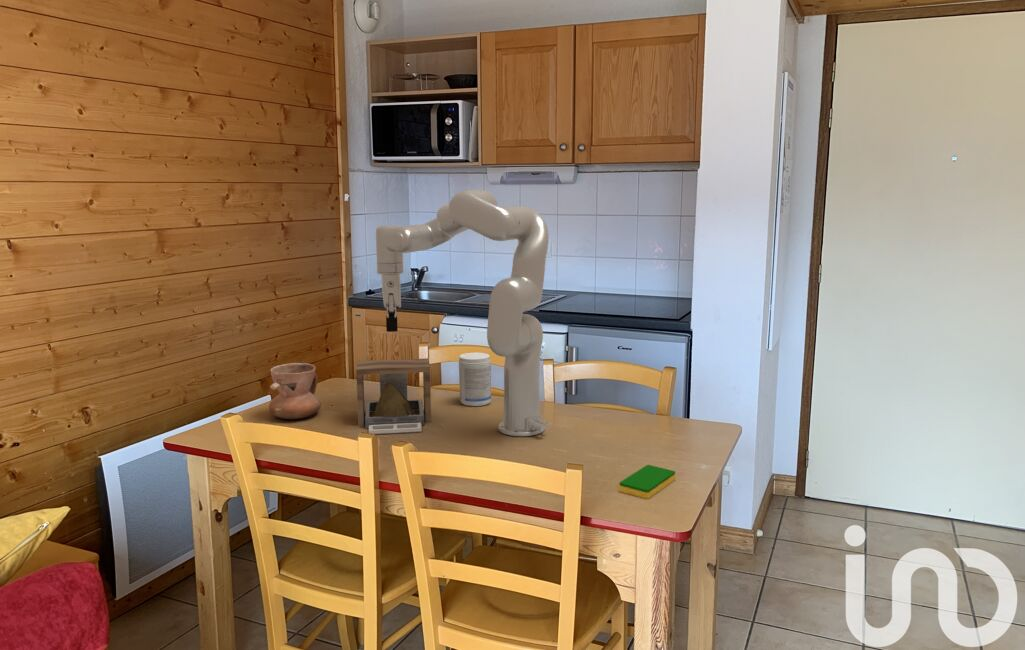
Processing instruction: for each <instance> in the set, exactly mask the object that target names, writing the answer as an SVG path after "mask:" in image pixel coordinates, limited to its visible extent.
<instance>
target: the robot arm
mask: <svg viewBox="0 0 1025 650" xmlns="http://www.w3.org/2000/svg"><path fill="white" fill-rule="evenodd" d="M467 230H471V231H473V232H475V233H476V234H480V235H481V236H483V237H485V238H487V239H489V240H492V241H497V242H506V241H512V240H517V242H518V243H517V246H516V248H515V249H514V250H515V251H514V253H513V258H512V266H511V267H512V268H511V274H510V277H506V278H504V279H501V280H500V281H498V282H497V283H496V284H495V285H494V286H493V289H492V291H491V293H490V298H489V308H488V316H487V328H486V339H487V344H488V347H489V349H490V350H491V352H492V353H494V354H495V355H496V356H498V357H503V358H504V361H503V362H504V363H503V364H504V365H503V420H502V421H501V422H499V423H498V427H497V428H498V431H499V432H501V433H502V434H504V435H508V436H510V437H511V436H512V437H513V436H514V437H530V436H531V437H533V436H536V435H539V434H541V433H543V432H544V431H545V430H546V428H547V427H548V426H549V422H547V421H543V419H542V418H543V416H542V414H540V364H541V363H540V361H541V360H540V359H541V352H542V345H543V339H544V338H543V337H544V332H543V331H544V330H543V326H542V324H541V322H540V321H539V319H537V318H536V317H535V316H533V315H531V314H527V313H525V312H529V311H532V310H533V309H536V308H537V307H538V306H540V304H541V301H542V299H543V290H544V281H545V271H546V260H547V253H548V247H549V231H548V226H547V223H546V221H545V220H544V218H543V216H542V215H541V214H540V213H539V212H538V211H536V210H534V209H533V208H531V207H527V206H522V205H514V206H513V205H512V206H502V207H500V206H498V201H497V199H496V196H494V195H493V194H492V192H489V191H488V190H485V189H469V190H464V189H463V190H460V191H457V193H455V194H454V195H453V196H452V198H451V199H450V201H449V203H447V204H445V205H442V206H440V208H438V209H437V213H436V218H433V219H431V220H430V221H427V222H426V223H425V222H424V223H423V224H412V225H403V226H401V225H400V226H399V225H394V224H393V225H392V224H387V225H385V224H384V225H379V226H377V228H376V229H375V244H376V247H375V249H376V274H378V275H381V290H382V293H381V294H382V300H383V301H382V302H383V308H385V309H386V316H385V322H386V325H385V326H386V332H388V333H389V332H390V333H392V332H398V315H397V307H398V309H400V308H401V307H402V295H401V294H402V290H401V289H402V287H401V284H402V283H401V274H404V254H407V253H408V254H409V253H414V252H415V253H416V252H423V251H428V250H431V249H433V248H435V247H438V246H440V245H443V244H445V243H446V242H449V241H450V240H451V239H453V238H454V237H455V236H457V235H459V234H461V233H463V232H465V231H467Z"/></svg>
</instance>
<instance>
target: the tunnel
mask: <svg viewBox="0 0 1025 650" xmlns="http://www.w3.org/2000/svg"><path fill="white" fill-rule="evenodd" d="M355 371H356V373H355V374H356V377H355V378H356V397H357V399H356V401H357V402H356V403H357V420H358V421H357V422H358V424H357V425H358V427H359V426H360V427H361V426H365V413H366V405H365V387H364V385H365V383H364V375H380V374H391V373H407V374H411V373H417V374H418V373H422V378H423V379H422V382H423V383H422V384H423V385H422V386H423V387H422V388H423V390H422V391H423V411H424V422H425V423H432V408H431V405H432V402H431V401H432V399H431V397H432V396H431V395H432V394H431V365H430V362H429V358H428V357H427V358H405V359H381V360H379V359H376V360H375V359H374V360H373V359H372V360H357V363H356V368H355Z"/></svg>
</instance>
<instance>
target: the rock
mask: <svg viewBox="0 0 1025 650" xmlns="http://www.w3.org/2000/svg"><path fill="white" fill-rule="evenodd" d="M408 400H409V399H408V398H407V399H406V398H405V396H404V395H403V394H402V393H401V392H400V391H399V390H398V389H397V388H396V387H395V386H393V385H392V384H389V383H387V384H386V386H385V388H384V389H383V392H382V394H381V395H380V396H379V399H378V401H379V402H378V404H377V405H376V409H375V411H374V414H373V417H380V416H401V415H415V413H414V409H412V408H411V406H410V403H409V401H408Z"/></svg>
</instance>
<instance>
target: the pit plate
mask: <svg viewBox="0 0 1025 650" xmlns="http://www.w3.org/2000/svg"><path fill="white" fill-rule="evenodd" d="M422 431H423V430H422V425H421V422H420V423H400V424H380V425H369V428H368V434H369V433H372V434H375V435H374V436H376V435H377V436H381V435H397V434H399V435H400V434H401V435H402V434H418V433H419V434H420V433H422Z"/></svg>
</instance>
